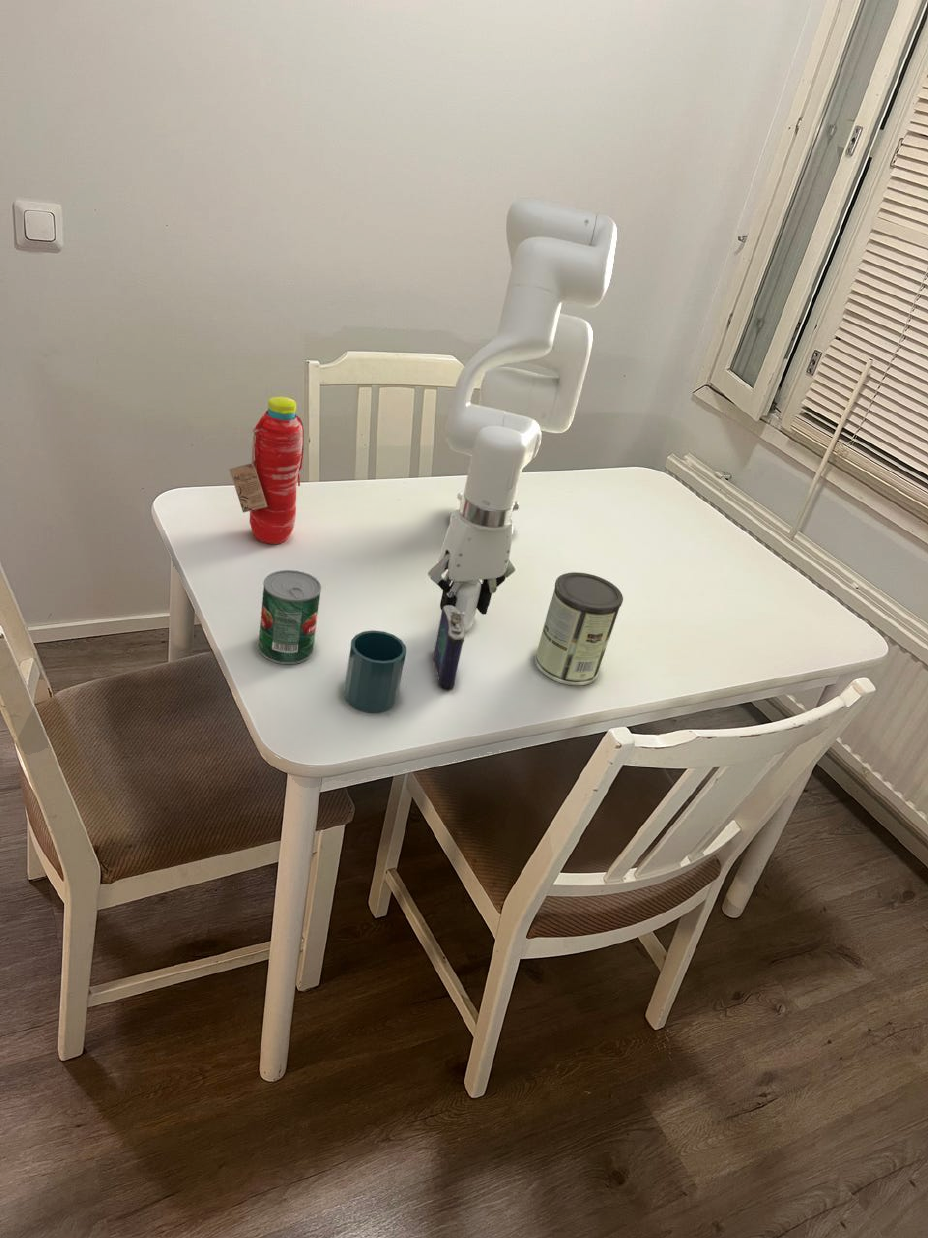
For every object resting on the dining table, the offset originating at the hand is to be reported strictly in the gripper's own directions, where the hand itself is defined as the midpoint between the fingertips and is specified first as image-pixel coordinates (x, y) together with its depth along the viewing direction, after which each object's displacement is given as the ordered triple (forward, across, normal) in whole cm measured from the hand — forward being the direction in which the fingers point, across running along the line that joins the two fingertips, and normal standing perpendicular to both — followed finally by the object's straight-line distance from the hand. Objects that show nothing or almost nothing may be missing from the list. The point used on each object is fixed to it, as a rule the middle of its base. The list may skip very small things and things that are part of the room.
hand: (463, 610), depth 142 cm
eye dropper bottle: (+3, 0, 0) cm, 3 cm away
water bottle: (+3, +23, -32) cm, 39 cm away
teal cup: (+3, +21, +14) cm, 25 cm away
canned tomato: (+3, +29, 0) cm, 29 cm away
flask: (+3, +8, +11) cm, 14 cm away
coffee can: (+3, -12, +14) cm, 18 cm away
